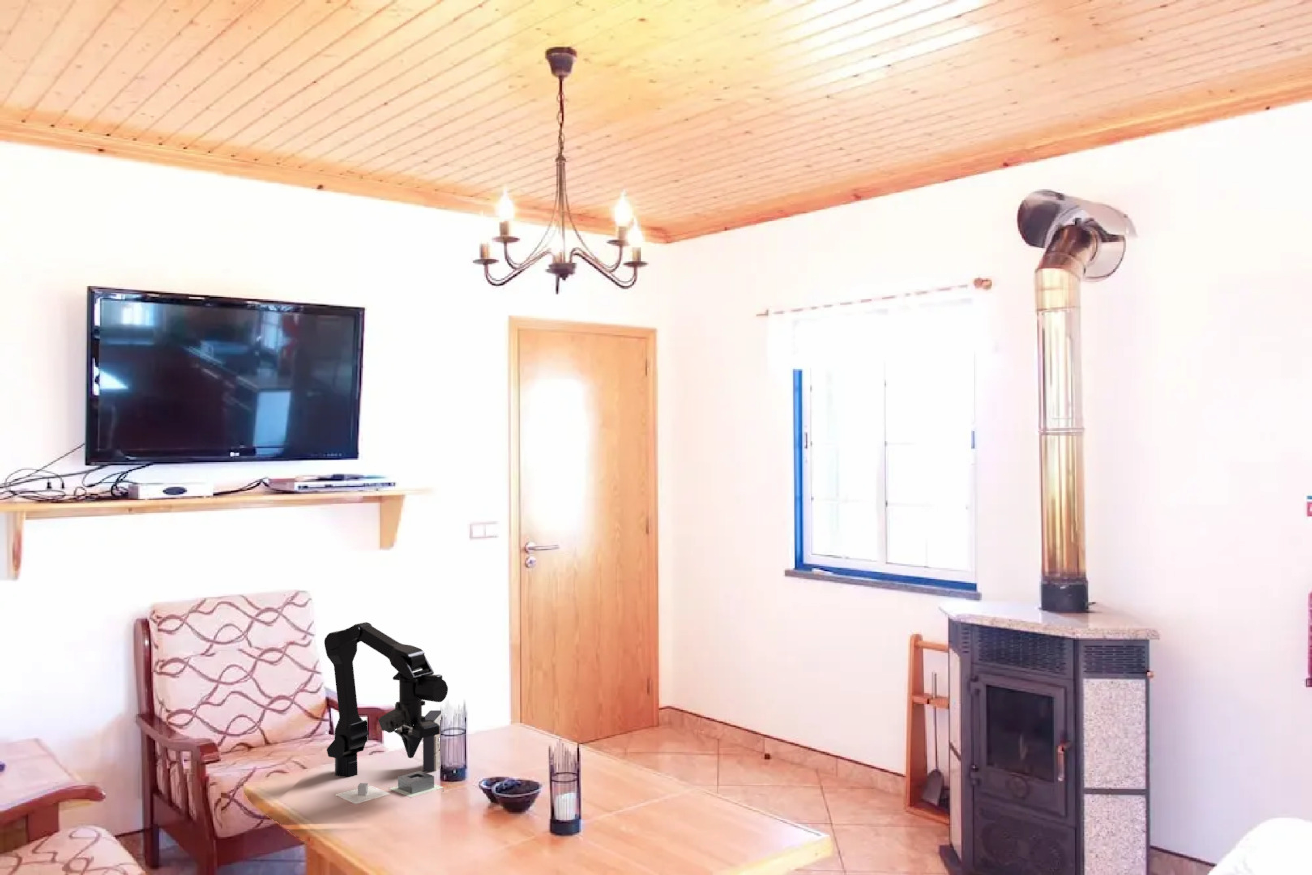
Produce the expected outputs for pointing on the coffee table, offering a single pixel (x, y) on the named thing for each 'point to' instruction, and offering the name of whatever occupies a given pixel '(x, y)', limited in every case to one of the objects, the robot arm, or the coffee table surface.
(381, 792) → the plate stand
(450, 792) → the coffee table surface
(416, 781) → the grey socket block
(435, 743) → the calculator
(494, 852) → the coffee table surface
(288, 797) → the coffee table surface
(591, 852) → the coffee table surface
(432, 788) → the hub board
